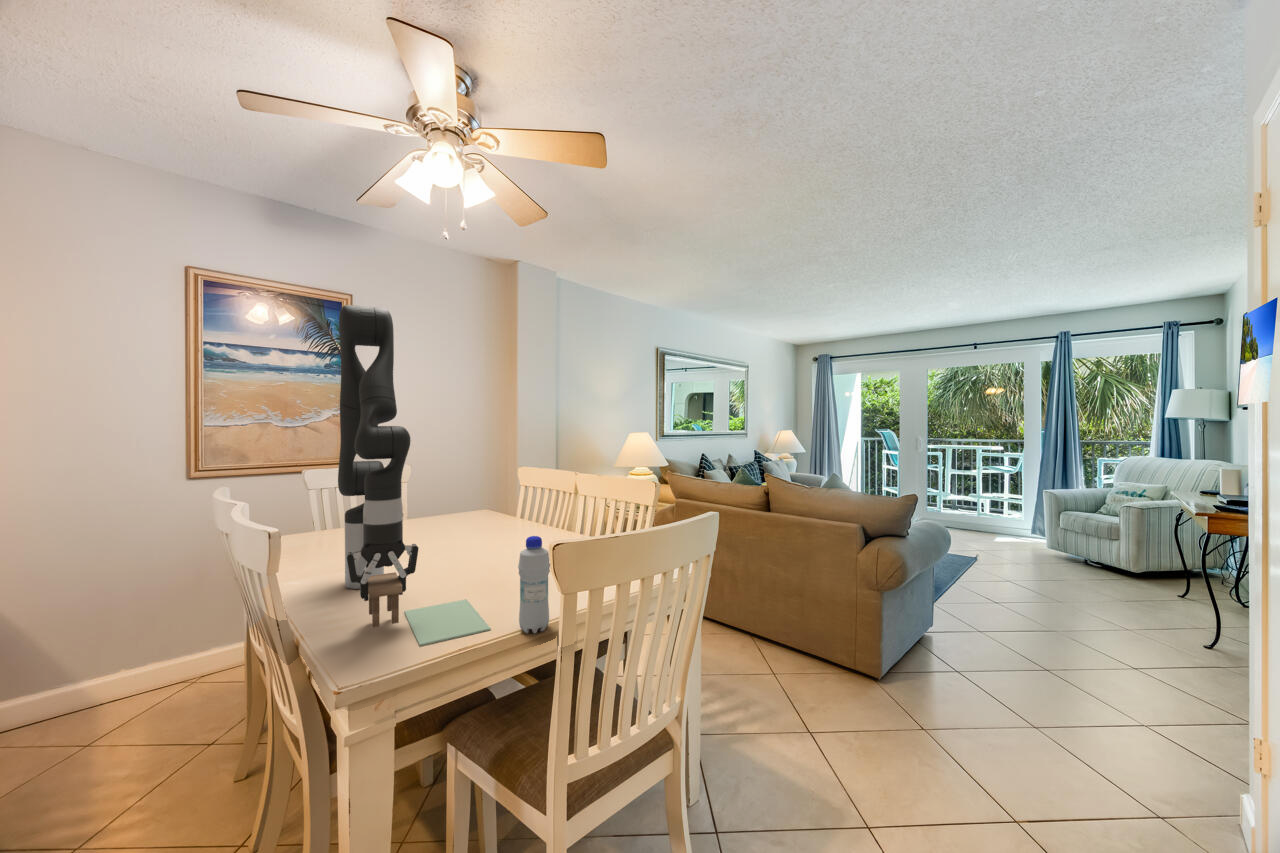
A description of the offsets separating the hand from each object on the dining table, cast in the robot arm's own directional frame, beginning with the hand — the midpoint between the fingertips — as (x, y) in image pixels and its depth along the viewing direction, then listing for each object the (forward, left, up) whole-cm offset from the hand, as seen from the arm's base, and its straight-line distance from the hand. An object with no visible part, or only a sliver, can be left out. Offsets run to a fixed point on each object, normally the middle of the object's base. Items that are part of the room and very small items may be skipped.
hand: (383, 596), depth 107 cm
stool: (0, 0, -5) cm, 5 cm away
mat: (+4, +12, -7) cm, 14 cm away
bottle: (+18, +27, -7) cm, 33 cm away
